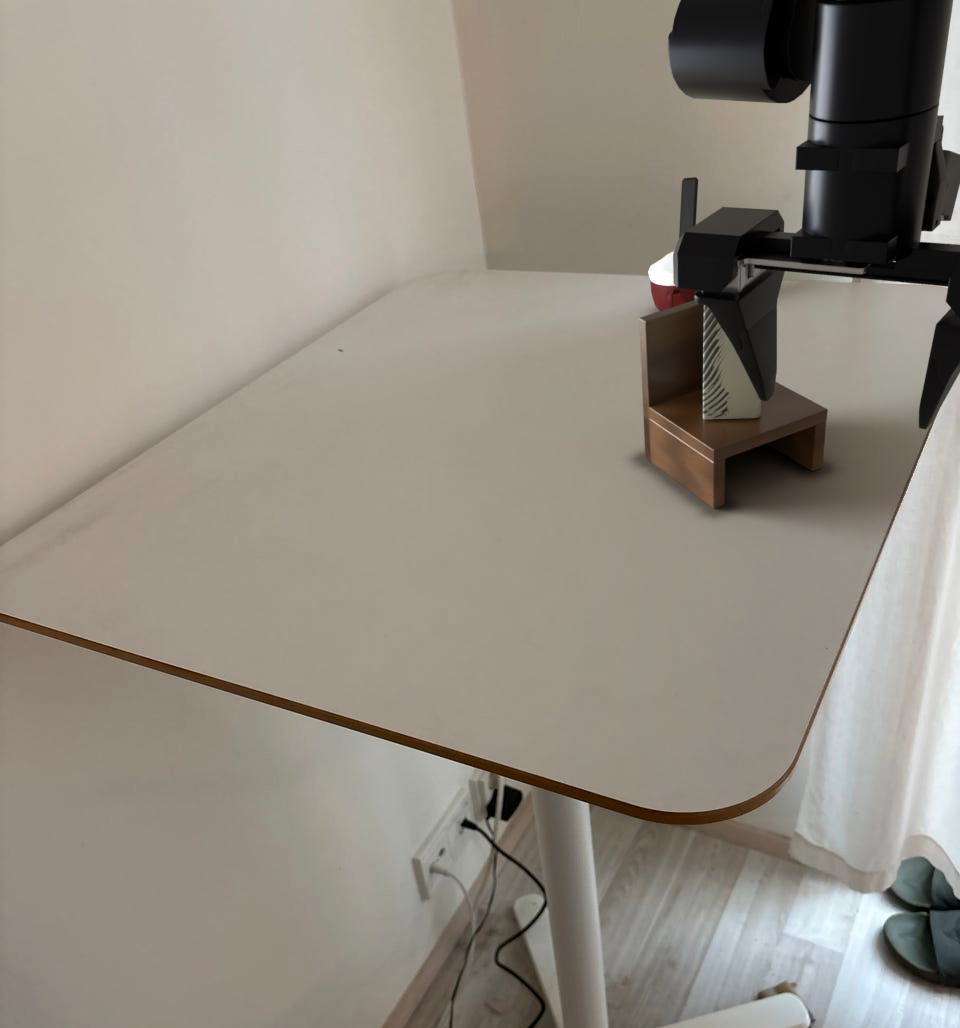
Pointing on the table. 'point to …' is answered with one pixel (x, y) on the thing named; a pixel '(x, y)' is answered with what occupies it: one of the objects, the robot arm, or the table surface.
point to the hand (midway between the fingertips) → (842, 411)
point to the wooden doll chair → (679, 410)
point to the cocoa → (662, 270)
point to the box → (725, 377)
